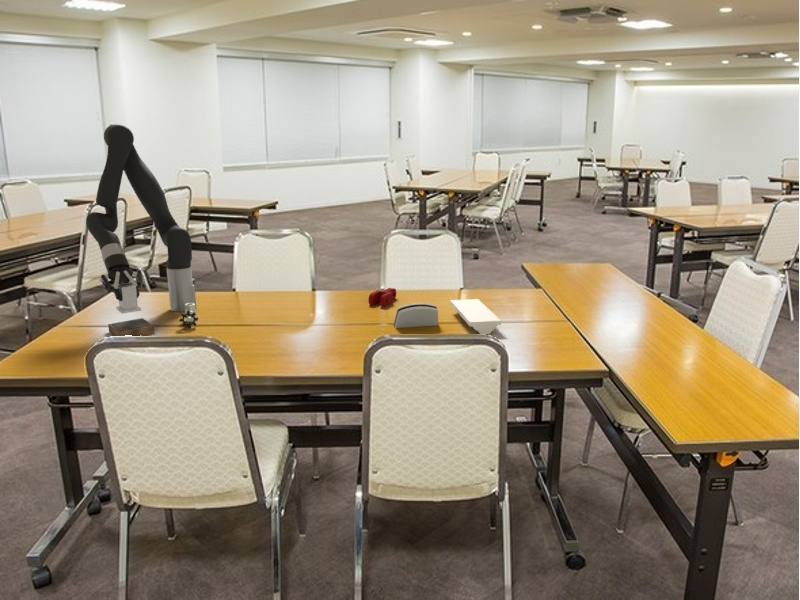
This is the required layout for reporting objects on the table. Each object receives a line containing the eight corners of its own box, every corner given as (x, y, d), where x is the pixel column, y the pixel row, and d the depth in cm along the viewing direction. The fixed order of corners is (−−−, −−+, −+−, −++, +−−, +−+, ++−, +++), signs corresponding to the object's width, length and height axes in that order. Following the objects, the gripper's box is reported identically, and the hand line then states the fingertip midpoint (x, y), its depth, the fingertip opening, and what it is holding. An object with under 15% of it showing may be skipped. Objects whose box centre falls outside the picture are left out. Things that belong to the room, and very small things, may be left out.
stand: (143, 325, 237) (142, 317, 236) (154, 333, 228) (153, 325, 227) (109, 332, 230) (108, 323, 229) (119, 340, 221) (118, 331, 220)
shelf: (469, 336, 227) (469, 322, 226) (449, 312, 256) (449, 300, 254) (500, 334, 229) (501, 320, 228) (477, 311, 258) (477, 298, 256)
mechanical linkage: (383, 308, 262) (383, 296, 260) (368, 306, 265) (368, 294, 263) (401, 299, 275) (401, 288, 274) (386, 297, 278) (386, 286, 277)
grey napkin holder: (435, 321, 244) (438, 299, 238) (438, 328, 240) (441, 306, 234) (392, 323, 240) (394, 302, 235) (394, 331, 237) (396, 309, 231)
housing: (135, 306, 231) (132, 282, 229) (141, 310, 226) (138, 285, 224) (116, 309, 227) (114, 284, 225) (122, 313, 222) (119, 288, 220)
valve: (182, 319, 245) (180, 329, 234) (181, 303, 243) (178, 311, 232) (200, 318, 247) (199, 327, 235) (199, 302, 245) (197, 310, 234)
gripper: (95, 255, 223) (108, 295, 217) (137, 250, 232) (151, 289, 226) (92, 267, 228) (105, 307, 222) (133, 262, 237) (147, 301, 231)
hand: (128, 298), depth 224 cm, fingers closed on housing, 5 cm apart
